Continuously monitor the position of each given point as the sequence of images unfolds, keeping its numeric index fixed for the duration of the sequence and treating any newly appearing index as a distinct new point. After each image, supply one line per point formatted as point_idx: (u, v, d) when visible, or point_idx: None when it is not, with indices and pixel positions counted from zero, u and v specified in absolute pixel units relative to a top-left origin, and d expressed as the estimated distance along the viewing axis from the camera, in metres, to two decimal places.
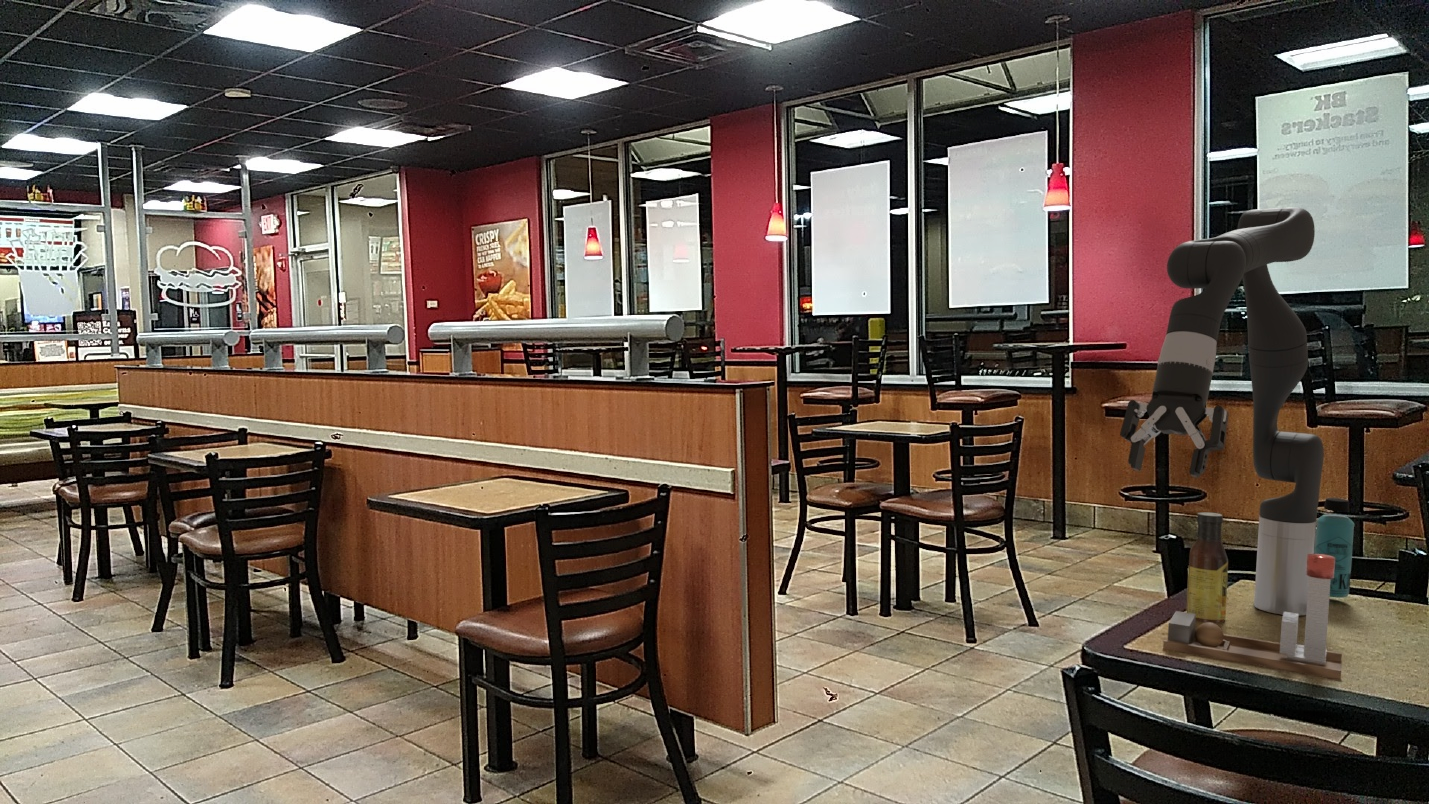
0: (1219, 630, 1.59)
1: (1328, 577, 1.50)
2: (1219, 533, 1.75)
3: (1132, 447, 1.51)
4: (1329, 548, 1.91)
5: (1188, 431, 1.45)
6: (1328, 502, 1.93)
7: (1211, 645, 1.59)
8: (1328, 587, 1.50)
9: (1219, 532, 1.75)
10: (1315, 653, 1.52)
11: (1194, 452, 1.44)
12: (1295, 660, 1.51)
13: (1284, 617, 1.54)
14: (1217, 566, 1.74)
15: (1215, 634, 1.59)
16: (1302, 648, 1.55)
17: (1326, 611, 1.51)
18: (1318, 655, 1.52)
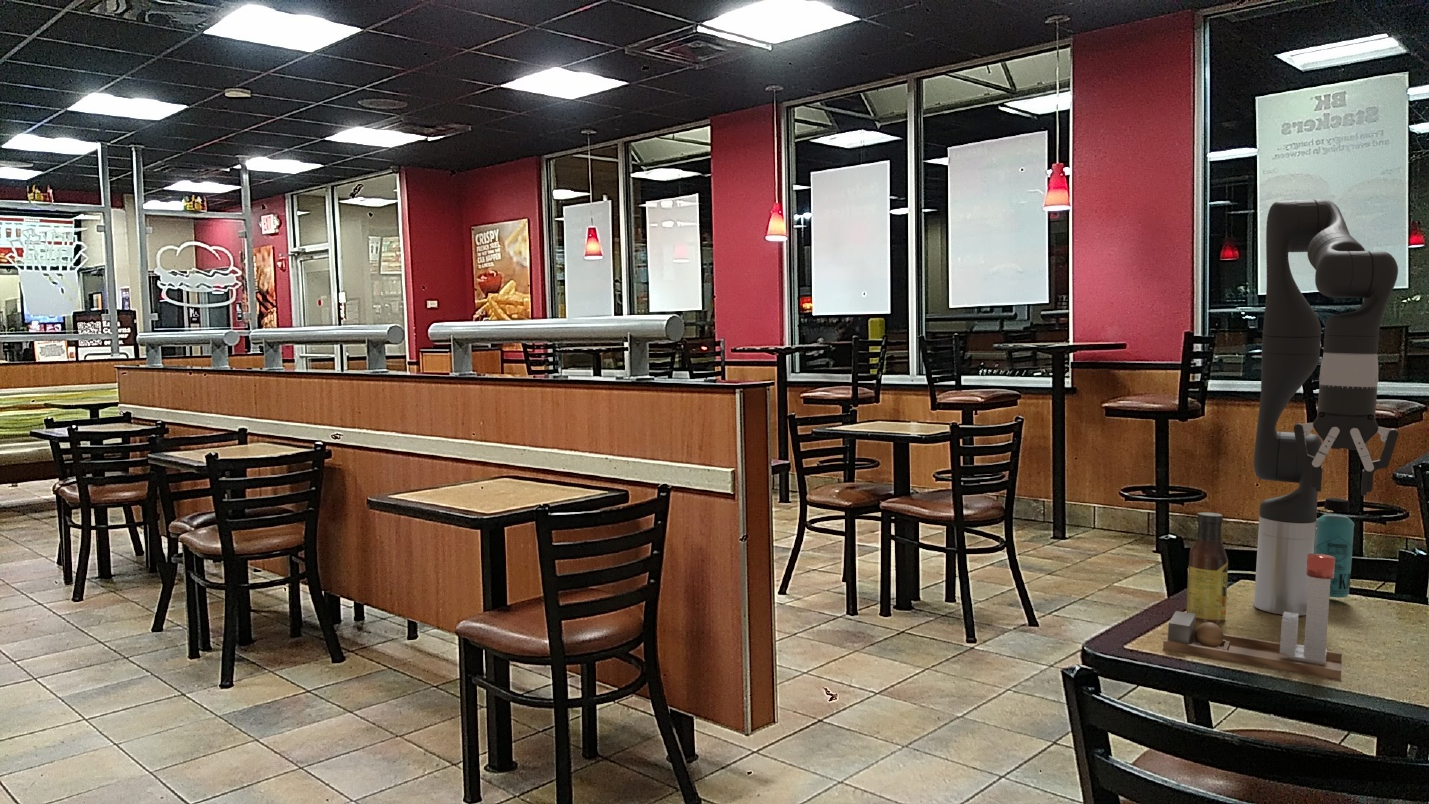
0: (1219, 630, 1.59)
1: (1328, 577, 1.50)
2: (1219, 533, 1.75)
3: (1313, 471, 1.56)
4: (1329, 548, 1.91)
5: (1360, 453, 1.52)
6: (1328, 502, 1.93)
7: (1211, 645, 1.59)
8: (1328, 587, 1.50)
9: (1219, 532, 1.75)
10: (1315, 653, 1.52)
11: (1364, 474, 1.52)
12: (1295, 660, 1.51)
13: (1284, 617, 1.54)
14: (1217, 566, 1.74)
15: (1215, 634, 1.59)
16: (1302, 648, 1.55)
17: (1326, 611, 1.51)
18: (1318, 655, 1.52)
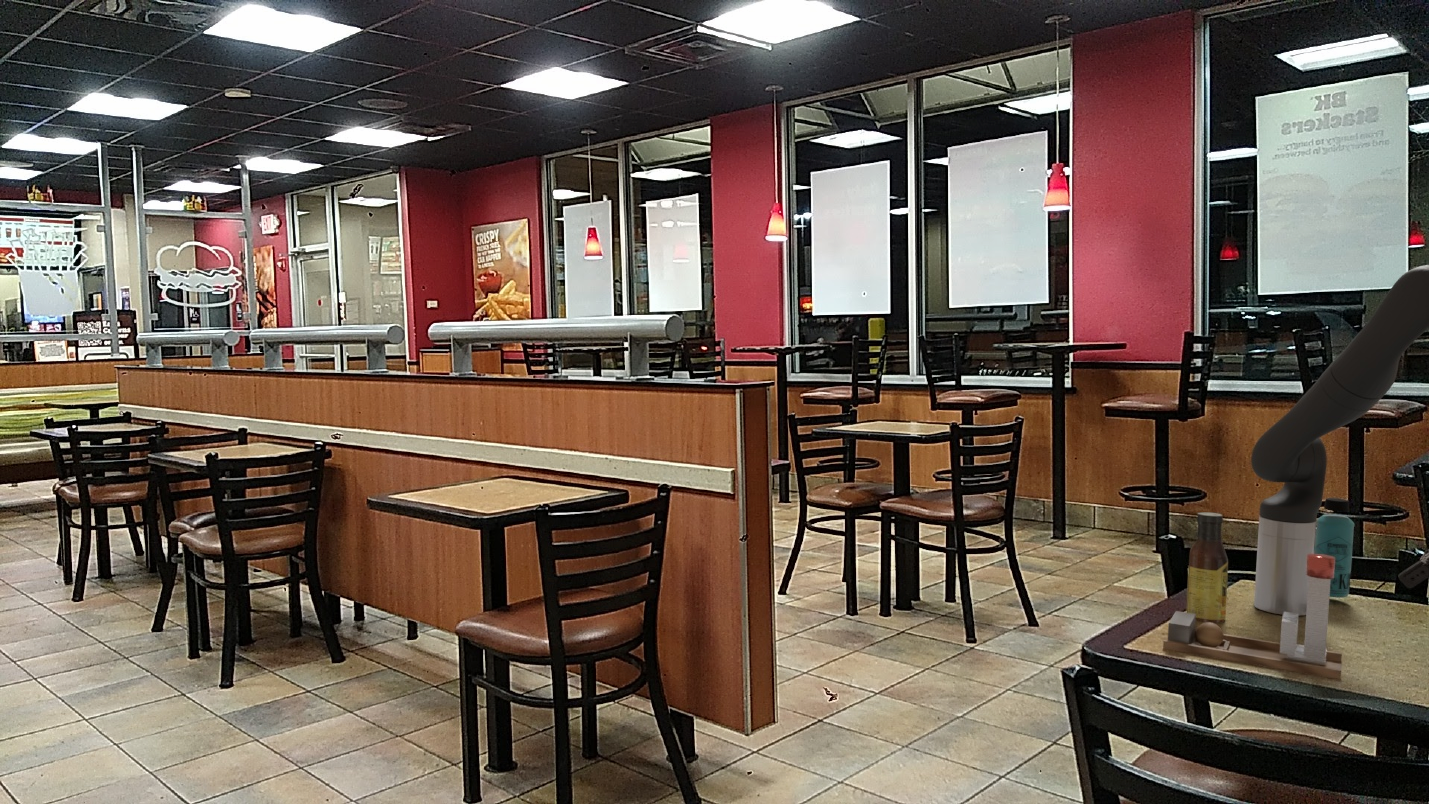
0: (1219, 630, 1.59)
1: (1328, 577, 1.50)
2: (1219, 533, 1.75)
3: (1427, 575, 1.44)
4: (1329, 548, 1.91)
5: None
6: (1328, 502, 1.93)
7: (1211, 645, 1.59)
8: (1328, 587, 1.50)
9: (1219, 532, 1.75)
10: (1315, 653, 1.52)
11: None
12: (1295, 660, 1.51)
13: (1284, 617, 1.54)
14: (1217, 566, 1.74)
15: (1215, 634, 1.59)
16: (1302, 648, 1.55)
17: (1326, 611, 1.51)
18: (1318, 655, 1.52)
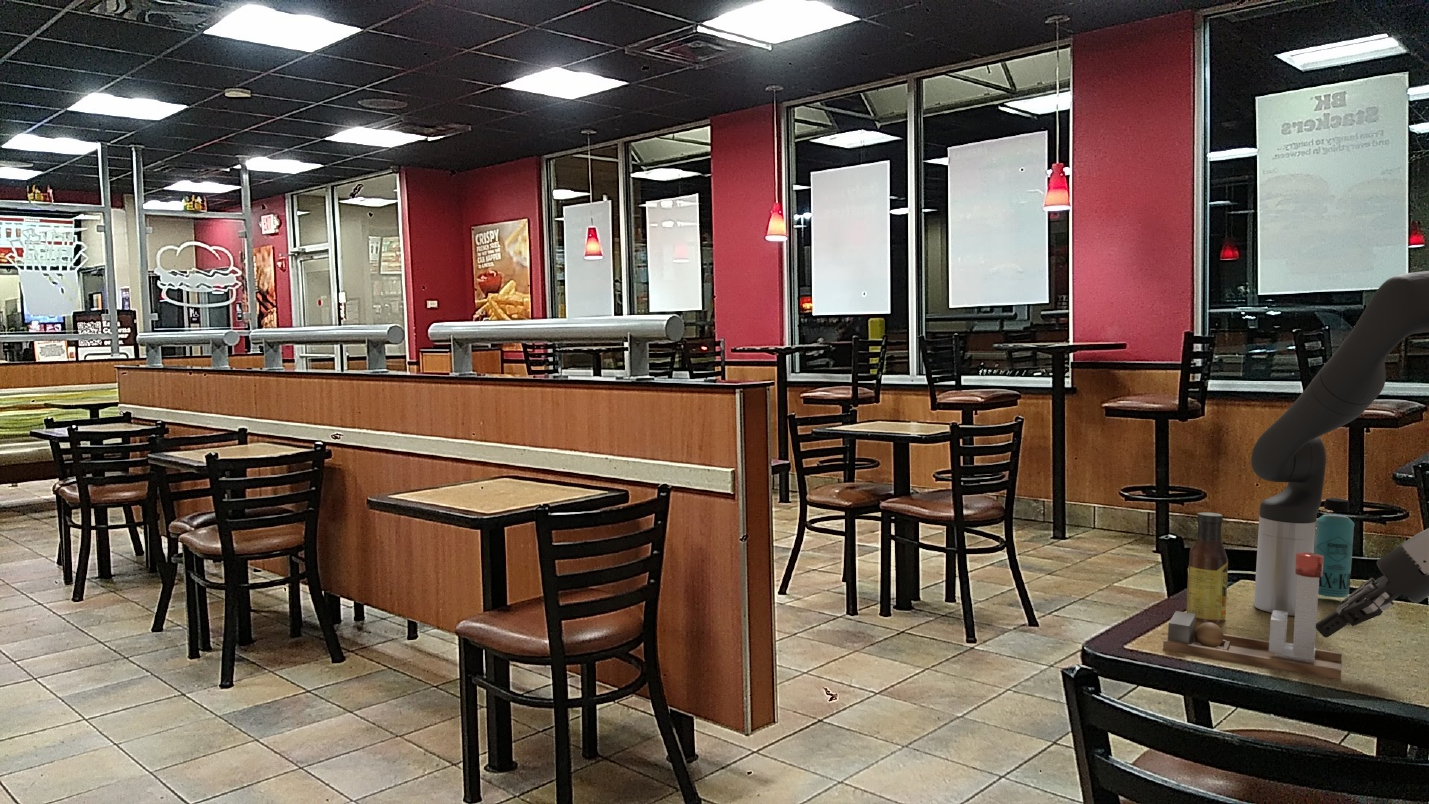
0: (1219, 630, 1.59)
1: (1317, 576, 1.51)
2: (1219, 533, 1.75)
3: (1341, 625, 1.50)
4: (1329, 548, 1.91)
5: None
6: (1328, 502, 1.93)
7: (1211, 645, 1.59)
8: (1317, 585, 1.51)
9: (1219, 532, 1.75)
10: (1304, 651, 1.53)
11: None
12: (1284, 658, 1.52)
13: (1273, 615, 1.55)
14: (1217, 566, 1.74)
15: (1215, 634, 1.59)
16: (1291, 646, 1.56)
17: (1315, 609, 1.51)
18: (1307, 653, 1.52)
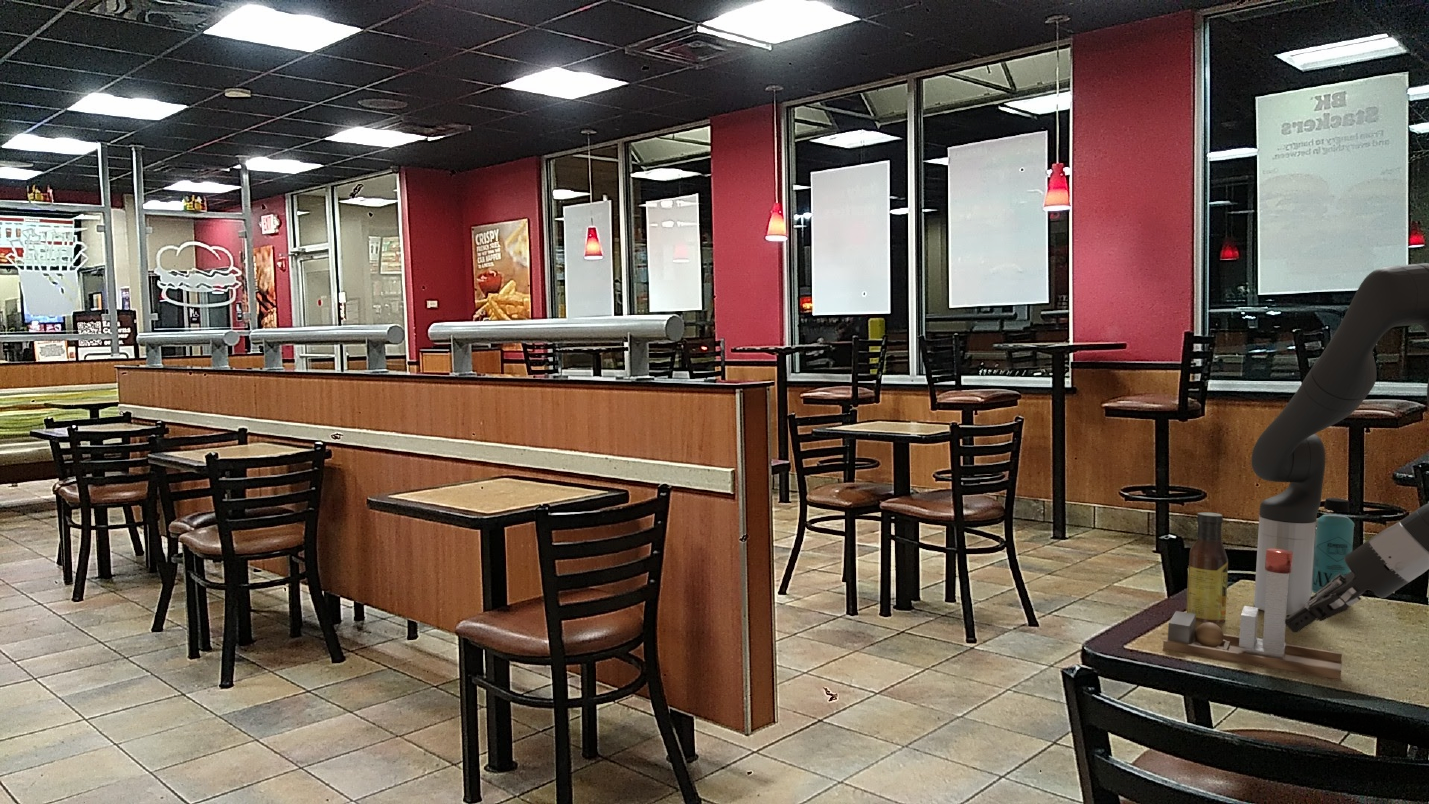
0: (1219, 630, 1.59)
1: (1286, 572, 1.53)
2: (1219, 533, 1.75)
3: (1310, 620, 1.52)
4: (1329, 548, 1.91)
5: None
6: (1328, 502, 1.93)
7: (1211, 645, 1.59)
8: (1286, 581, 1.53)
9: (1219, 532, 1.75)
10: (1273, 646, 1.55)
11: None
12: (1254, 653, 1.54)
13: (1244, 611, 1.57)
14: (1217, 566, 1.74)
15: (1215, 634, 1.59)
16: (1262, 641, 1.58)
17: (1284, 605, 1.54)
18: (1276, 648, 1.55)
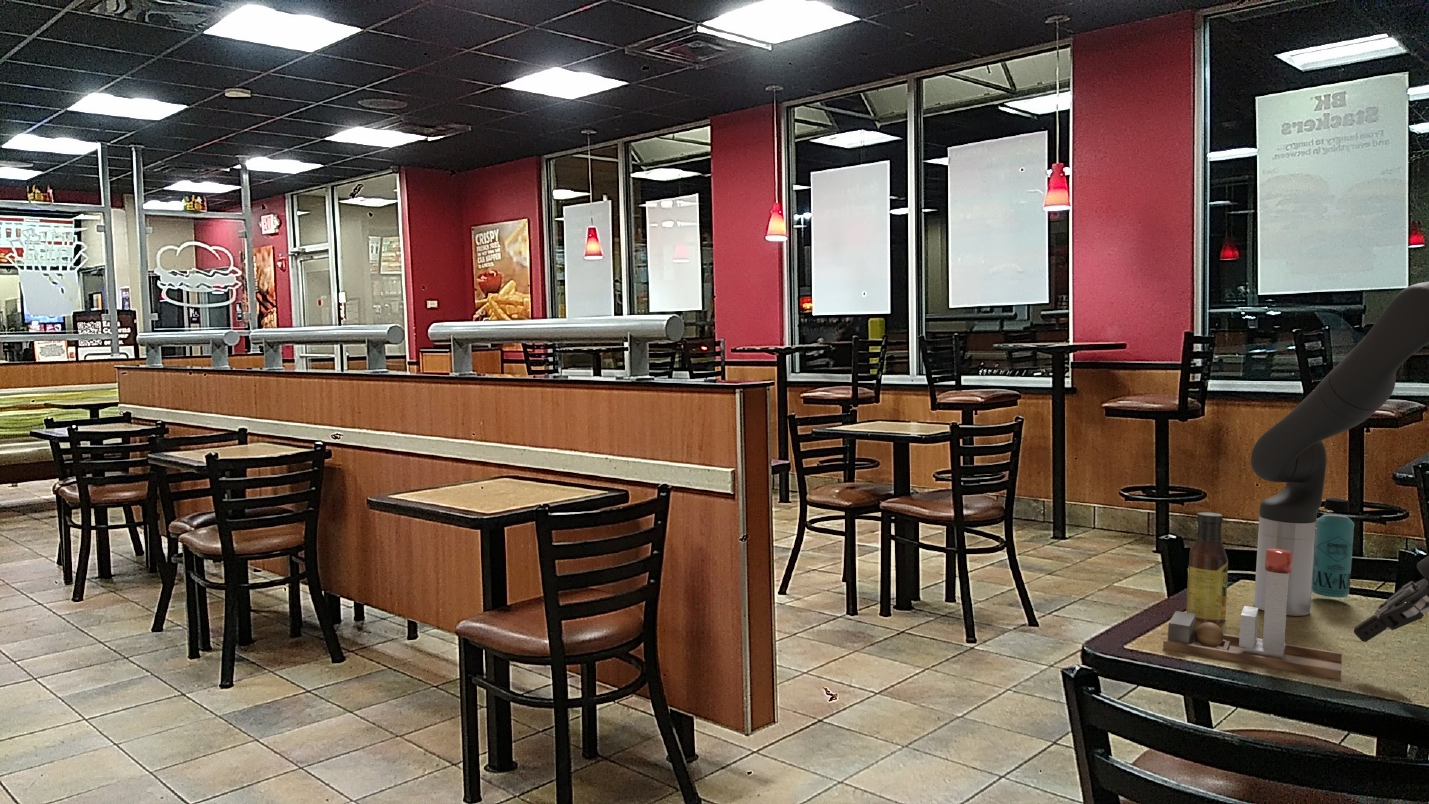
0: (1219, 630, 1.59)
1: (1286, 572, 1.53)
2: (1219, 533, 1.75)
3: (1380, 629, 1.47)
4: (1329, 548, 1.91)
5: None
6: (1328, 502, 1.93)
7: (1211, 645, 1.59)
8: (1286, 581, 1.53)
9: (1219, 532, 1.75)
10: (1273, 646, 1.55)
11: None
12: (1254, 653, 1.54)
13: (1244, 611, 1.57)
14: (1217, 566, 1.74)
15: (1215, 634, 1.59)
16: (1261, 641, 1.58)
17: (1284, 605, 1.54)
18: (1276, 648, 1.55)
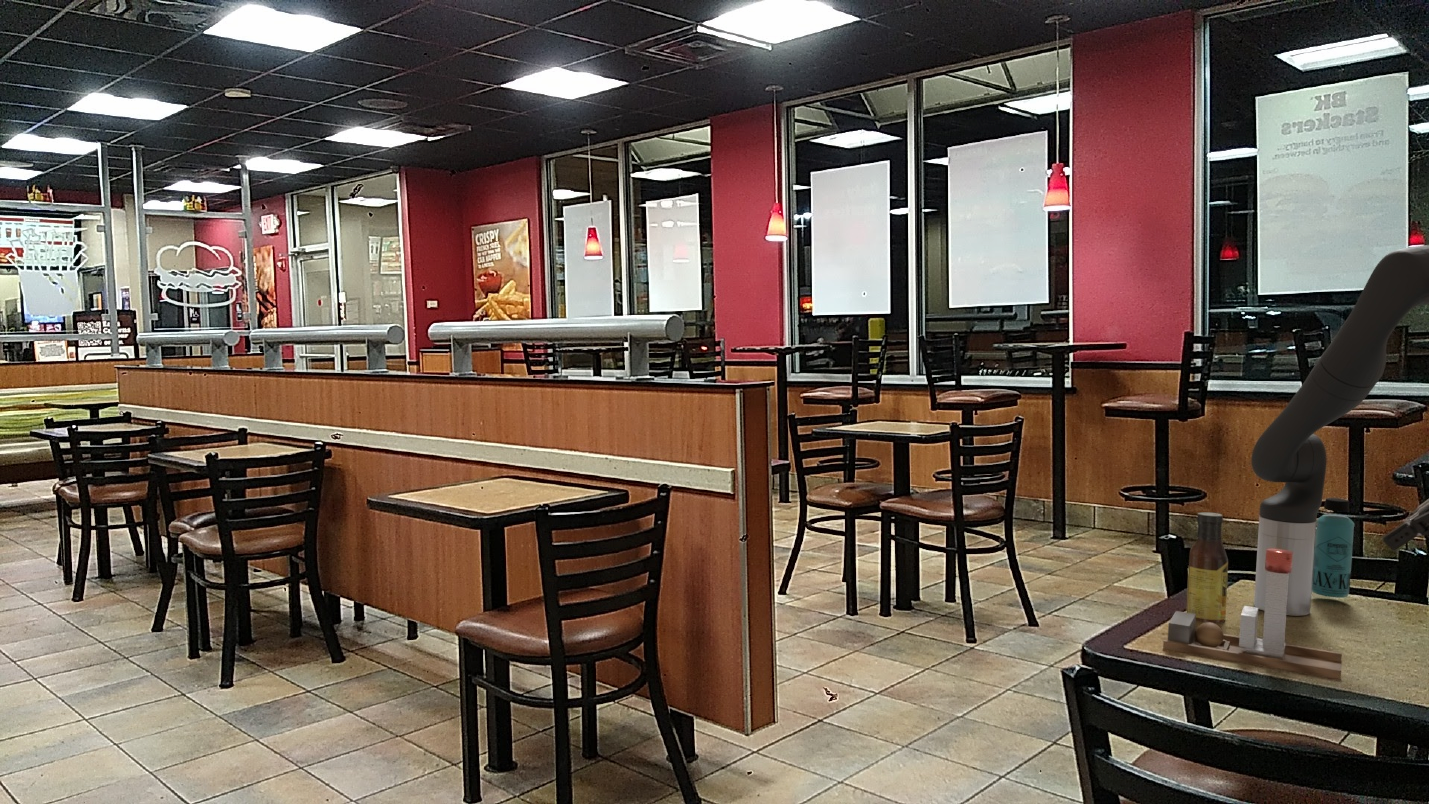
0: (1219, 630, 1.59)
1: (1286, 572, 1.53)
2: (1219, 533, 1.75)
3: (1411, 536, 1.45)
4: (1329, 548, 1.91)
5: None
6: (1328, 502, 1.93)
7: (1211, 645, 1.59)
8: (1286, 581, 1.53)
9: (1219, 532, 1.75)
10: (1273, 646, 1.55)
11: None
12: (1254, 653, 1.54)
13: (1244, 611, 1.57)
14: (1217, 566, 1.74)
15: (1215, 634, 1.59)
16: (1261, 641, 1.58)
17: (1284, 605, 1.54)
18: (1276, 648, 1.55)
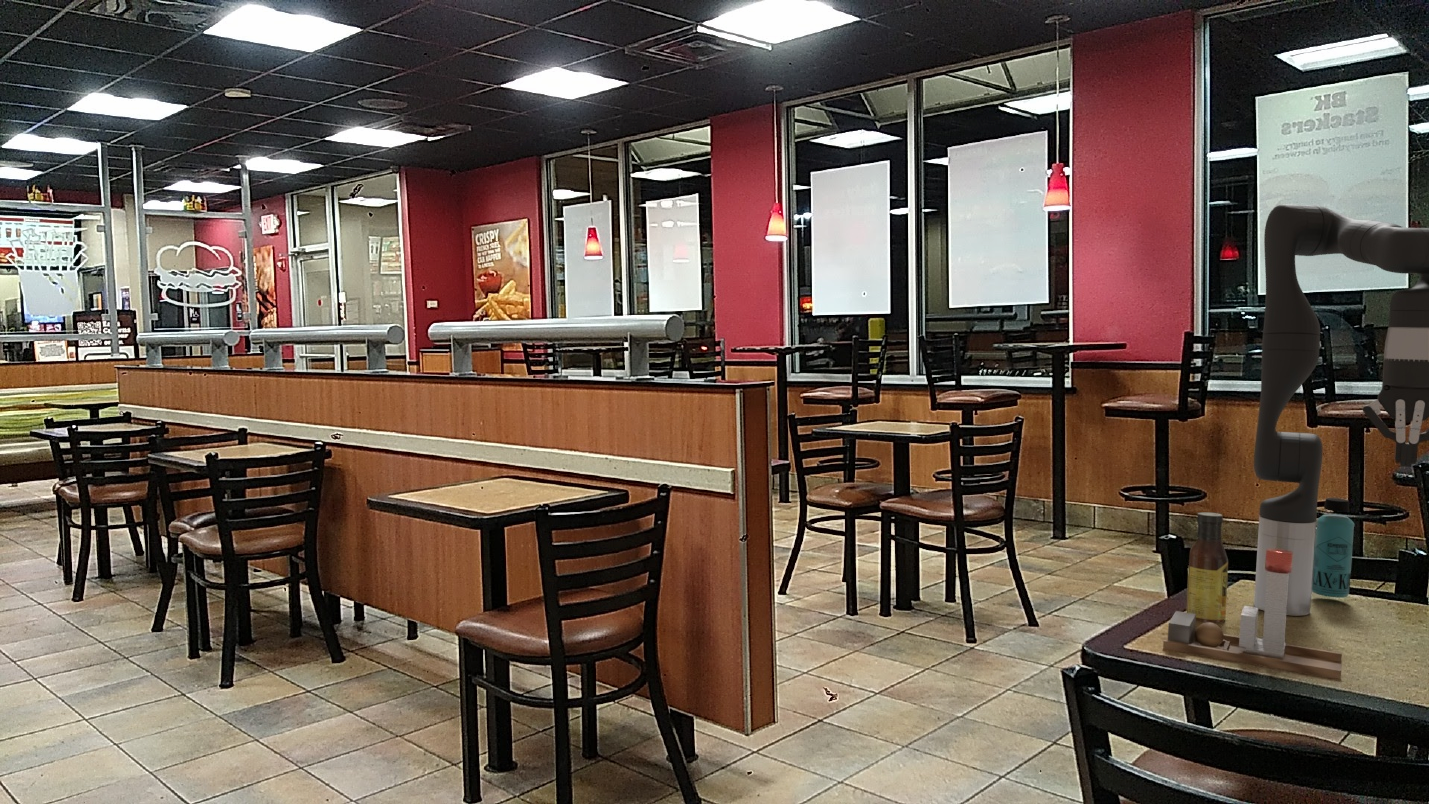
0: (1219, 630, 1.59)
1: (1286, 572, 1.53)
2: (1219, 533, 1.75)
3: (1397, 446, 1.59)
4: (1329, 548, 1.91)
5: (1413, 424, 1.57)
6: (1328, 502, 1.93)
7: (1211, 645, 1.59)
8: (1286, 581, 1.53)
9: (1219, 532, 1.75)
10: (1273, 646, 1.55)
11: (1408, 447, 1.58)
12: (1254, 653, 1.54)
13: (1244, 611, 1.57)
14: (1217, 566, 1.74)
15: (1215, 634, 1.59)
16: (1261, 641, 1.58)
17: (1284, 605, 1.54)
18: (1276, 648, 1.55)
